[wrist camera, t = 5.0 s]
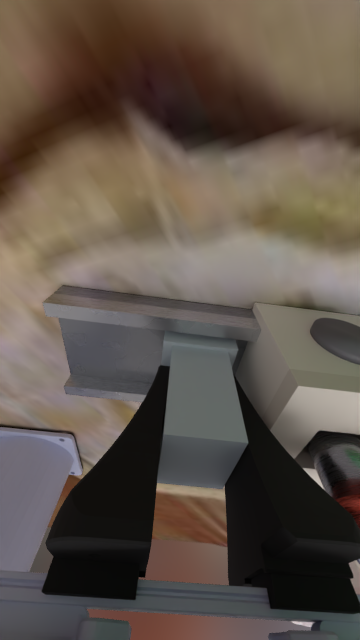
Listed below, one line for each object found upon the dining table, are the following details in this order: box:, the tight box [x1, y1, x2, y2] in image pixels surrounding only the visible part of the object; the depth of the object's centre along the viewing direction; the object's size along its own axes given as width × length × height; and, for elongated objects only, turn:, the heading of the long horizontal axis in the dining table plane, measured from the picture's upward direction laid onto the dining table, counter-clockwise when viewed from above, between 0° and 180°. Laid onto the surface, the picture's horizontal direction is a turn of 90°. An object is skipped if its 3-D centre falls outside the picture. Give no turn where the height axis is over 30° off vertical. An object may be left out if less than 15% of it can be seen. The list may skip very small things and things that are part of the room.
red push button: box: [306, 430, 360, 529], centre depth 9 cm, size 3×3×5 cm
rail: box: [43, 286, 261, 402], centre depth 14 cm, size 11×7×2 cm, turn 83°
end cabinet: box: [235, 302, 360, 489], centre depth 12 cm, size 7×8×6 cm
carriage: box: [157, 331, 248, 489], centre depth 11 cm, size 4×4×6 cm
